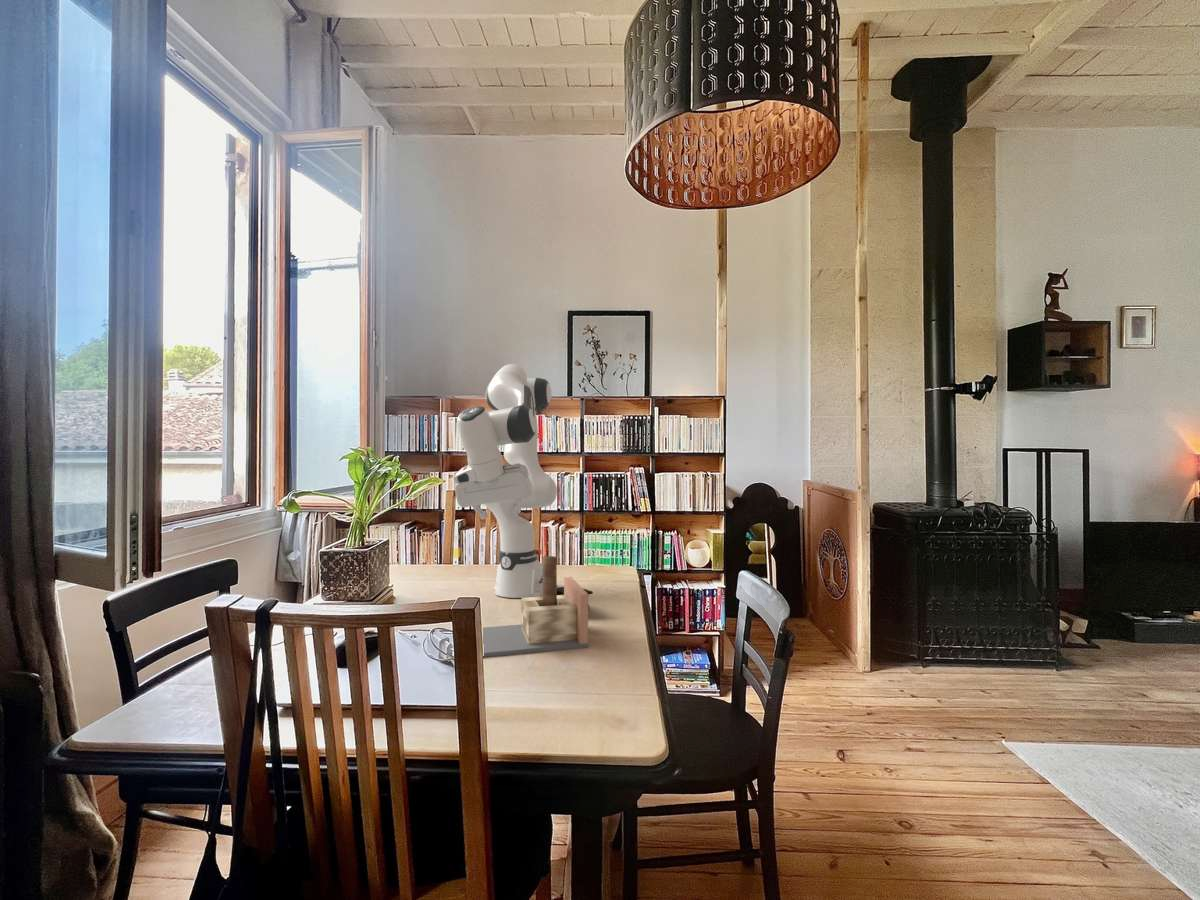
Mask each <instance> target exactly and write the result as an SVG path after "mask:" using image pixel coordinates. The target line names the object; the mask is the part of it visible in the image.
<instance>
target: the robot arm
mask: <svg viewBox="0 0 1200 900" xmlns="http://www.w3.org/2000/svg"><path fill="white" fill-rule="evenodd" d="M485 399H486V402H487V405H488V407H489V408H490V409H491V410H490V411H488V410H487V409H486V408H485V406H480V405H479V406H478V405H477V406H471V407H468V408H466V409H464V410H462V411H461V412H460V413H459V414H458V416H457V423H458V424H457V426H458V430H459V436H460V441H461V444H462V448H463V450H465V453H466V456H467V458H466V459H467V465H465V466H462V468H460V469H459V470H458V471H457V472H456V474H455V475H454V476H453V481H454V483H455V487H454V492H455V493H454V494H455V498H456V502H457V505H458V506H459V507H460V508H468V507H472V509H473V511H475V512H476V513H477V514H478V515H479V518H480V520H485V519H487V518H488V513H487V510H483V509H482V508H481V505H484V506H485V507H486V508H487V509H489V510H490V512H491V513H492V514H493V516H494V517H495V520H496V521H497V524H498V529H499V541H500V543H499V544H500V549H499V551H498V562H499V564H498V565H497V570H496V578H495V579H496V580H495V585H493V590H494V594H495V595H496V596H499V597H502V598H510V599H511V598H512V599H518V598H519V599H520V598H525V597H540V596H543V572H542V563H541V561H539V560H538V556H541V555H542V552H543V551H542V549H541V548H535V528H534V527H535V526H533V524H532V523H531V522H530V521H529V520H527V519H526V518H523V517H521V516H520V515H519V514H521V512H522V510H521V509H540V508H545V507H550V506H551V505H553V504H554V502H555V500H556V498H557V496H558V488H557V484H556V482H555V481H554V479H553V478H552V477H551V476H550V475H548V474H547V473H546V472H545V471H544V470H543V469H542V467H541V464H540V462H539V458H538V456H539V455H538V439H539V438H538V436H539V433H538V432H539V429H538V419H537V415H538V416H539V415H541V414H542V412H543V411H545V410H546V409H547V408H548V407H549V405H550V404H551V400H552V389H551V386H550V382H548V380H547V379H545V378H541V377H532V378H531V377H528V376H527V373H526V371H525V369H524V368H523V367H522V366H520V365H519V364H516V363H508V364H505V365H503V366H502V367H501V368H499V369H498V370H497V372H496V373H495V374H494V376H492V379H491V381H490V382H489V383H488V384H487V386H486V390H485ZM500 446H504V447H503V448H504V449H503V456H502V452H501V450H500V449H499V447H500ZM503 457H504V460H505V461H506V462H507V464H506V465H505V462H504V460H503Z"/></svg>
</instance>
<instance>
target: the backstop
mask: <svg viewBox="0 0 1200 900" xmlns="http://www.w3.org/2000/svg"><path fill="white" fill-rule="evenodd" d="M563 579H564V580H563V582H564V583H563V587H564V595H567V596H568V598H569V599H570V600H571V601H572V602H573V604H574V605H575V606H576V607H577V637H576V640H566V641H555V642H544V643H533V644H528V642H527V640H526V637H525V635H524V633H523V631H522V629H521V624H511V625H500V626H499V625H498V626H485V627H482V628H483V644H484V657H483V658H488V657H487V656H491V657H501V656H509V655H510V656H511V655H519V654H520V655H521V654H522V655H523V654H531V653H532V654H533V653H539V652H540V653H541V652H551V651H560V650H561V651H563V650H572V649H581V648H582V649H583V648H589V612H588V603H589V595H588V593H587V592H586V591H585V590H584V589H585V588H584V587H582V586H581V585H580V584H579V583H578V582H577V581H576V580H575V579H574V578H573V577H572V576H566V577H564V578H563Z"/></svg>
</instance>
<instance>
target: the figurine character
mask: <svg viewBox="0 0 1200 900" xmlns="http://www.w3.org/2000/svg"><path fill="white" fill-rule="evenodd" d="M583 589H584V590H585V591H586V592H587V593H588V596H589V595H592V594H594V593H593V591H592V590H588V589H586V588H583ZM557 595H564V586H562V587H557ZM589 612H590V604H589V602H588V613H589Z"/></svg>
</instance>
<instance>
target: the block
mask: <svg viewBox="0 0 1200 900" xmlns="http://www.w3.org/2000/svg"><path fill="white" fill-rule="evenodd" d="M520 600H521V603H520V604H521V607H520V608H521V611H520V612H521V616H520V617H521V619H520V620H521V622H520V625H521V629H522V631H523V633H524V635H525V637H526V640H527V642H528V644H533V643H544V642H555V641H566V640H576V637H577V607H576V606H575V605H574V604H573V602H572V601H571V600H570V599H569V598H568V596H567V595H557V605H552V606H543V595H542V596H539V597H523V598H521V599H520Z"/></svg>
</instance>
